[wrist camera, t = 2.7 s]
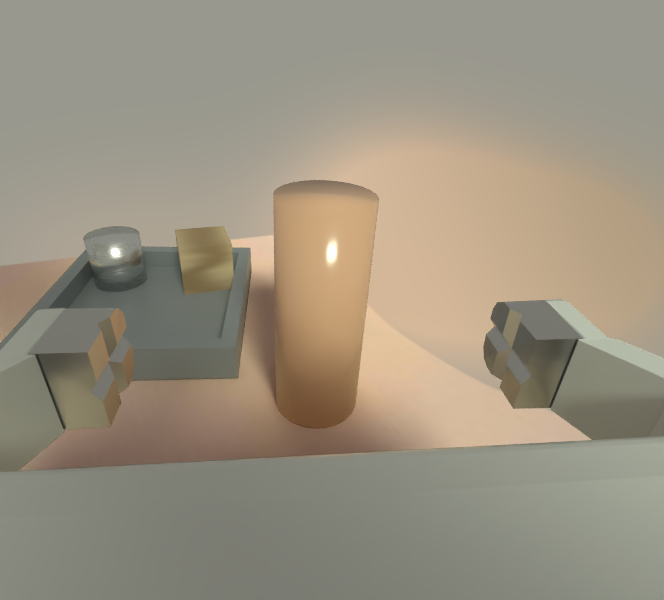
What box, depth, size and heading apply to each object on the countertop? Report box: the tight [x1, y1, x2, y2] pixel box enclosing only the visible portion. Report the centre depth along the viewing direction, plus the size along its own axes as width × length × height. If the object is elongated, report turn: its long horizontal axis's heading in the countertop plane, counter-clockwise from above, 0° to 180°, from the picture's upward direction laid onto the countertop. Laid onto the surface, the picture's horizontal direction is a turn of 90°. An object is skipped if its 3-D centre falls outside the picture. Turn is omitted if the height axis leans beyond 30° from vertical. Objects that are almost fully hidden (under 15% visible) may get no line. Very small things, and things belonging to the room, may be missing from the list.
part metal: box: [84, 226, 147, 292], centre depth 36 cm, size 4×4×4 cm
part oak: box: [175, 226, 234, 295], centre depth 36 cm, size 4×4×4 cm
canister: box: [274, 180, 379, 428], centre depth 24 cm, size 5×5×13 cm
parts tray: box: [0, 247, 251, 380], centre depth 34 cm, size 14×15×2 cm
